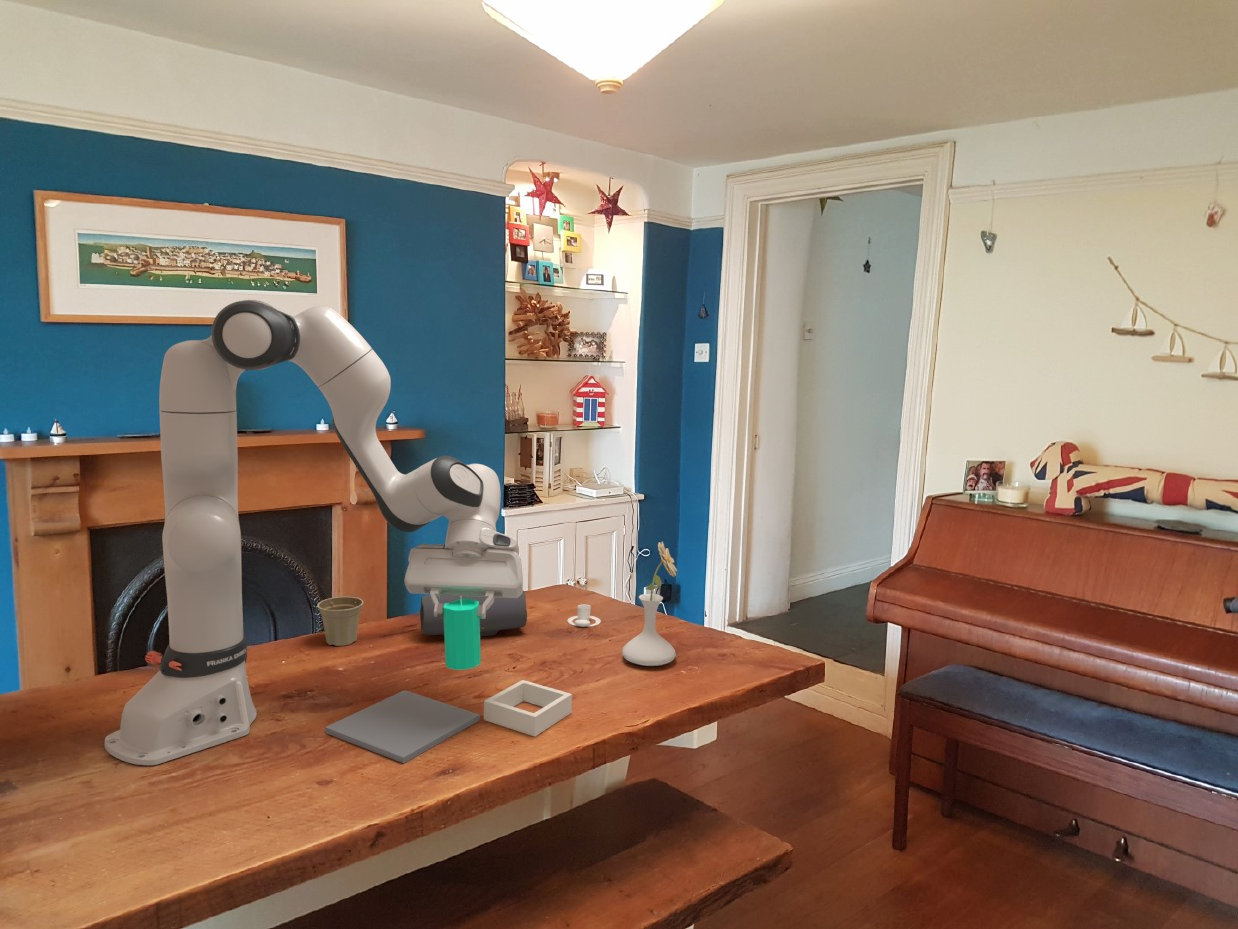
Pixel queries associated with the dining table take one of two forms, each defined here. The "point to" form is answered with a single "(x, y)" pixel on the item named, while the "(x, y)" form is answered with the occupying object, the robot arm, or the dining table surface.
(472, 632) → the candle
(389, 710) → the slate tile
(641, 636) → the flower in vase
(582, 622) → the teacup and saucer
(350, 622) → the flower pot
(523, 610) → the bluetooth speaker
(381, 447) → the robot arm
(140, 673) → the dining table surface
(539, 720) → the square frame
